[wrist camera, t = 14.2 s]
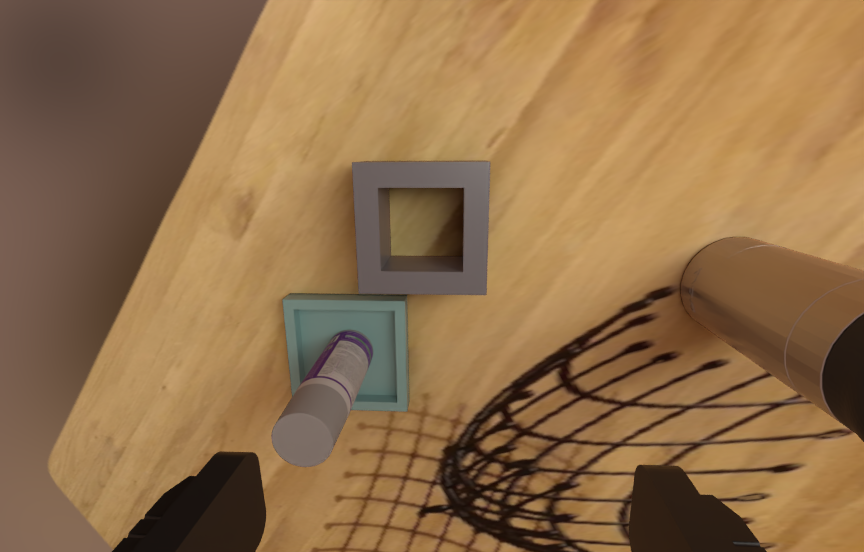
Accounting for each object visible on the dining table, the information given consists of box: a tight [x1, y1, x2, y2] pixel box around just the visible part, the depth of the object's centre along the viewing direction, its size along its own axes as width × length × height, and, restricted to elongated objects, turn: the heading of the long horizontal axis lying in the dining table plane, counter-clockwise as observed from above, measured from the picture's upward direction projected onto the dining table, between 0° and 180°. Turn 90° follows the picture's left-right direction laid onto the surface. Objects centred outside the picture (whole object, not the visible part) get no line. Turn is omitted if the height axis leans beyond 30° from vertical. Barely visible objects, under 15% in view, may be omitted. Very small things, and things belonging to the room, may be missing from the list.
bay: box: [352, 161, 490, 295], centre depth 39 cm, size 11×11×6 cm
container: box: [272, 330, 373, 467], centre depth 39 cm, size 5×5×15 cm
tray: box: [283, 293, 409, 411], centre depth 45 cm, size 12×12×2 cm
